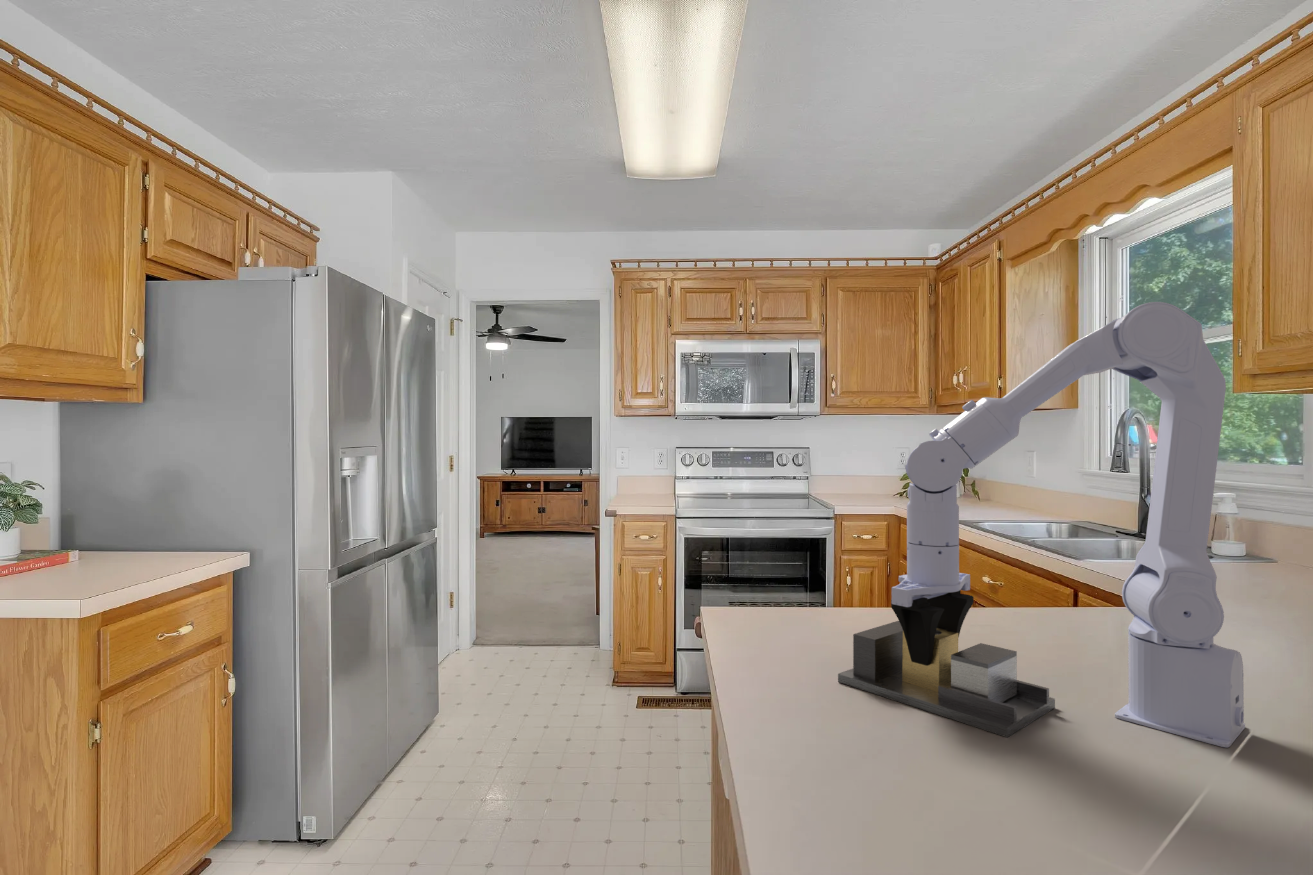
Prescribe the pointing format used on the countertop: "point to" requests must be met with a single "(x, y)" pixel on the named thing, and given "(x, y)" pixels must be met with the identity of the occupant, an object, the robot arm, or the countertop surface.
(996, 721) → the press bed
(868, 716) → the countertop surface
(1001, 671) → the block
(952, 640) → the housing
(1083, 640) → the countertop surface
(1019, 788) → the countertop surface
